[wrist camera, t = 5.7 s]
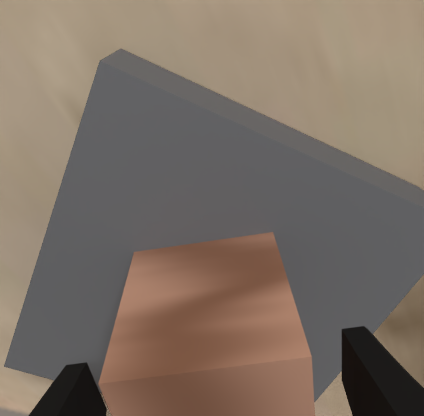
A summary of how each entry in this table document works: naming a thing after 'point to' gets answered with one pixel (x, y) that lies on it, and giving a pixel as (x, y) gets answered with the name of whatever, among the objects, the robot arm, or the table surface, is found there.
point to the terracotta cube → (208, 334)
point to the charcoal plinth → (211, 216)
